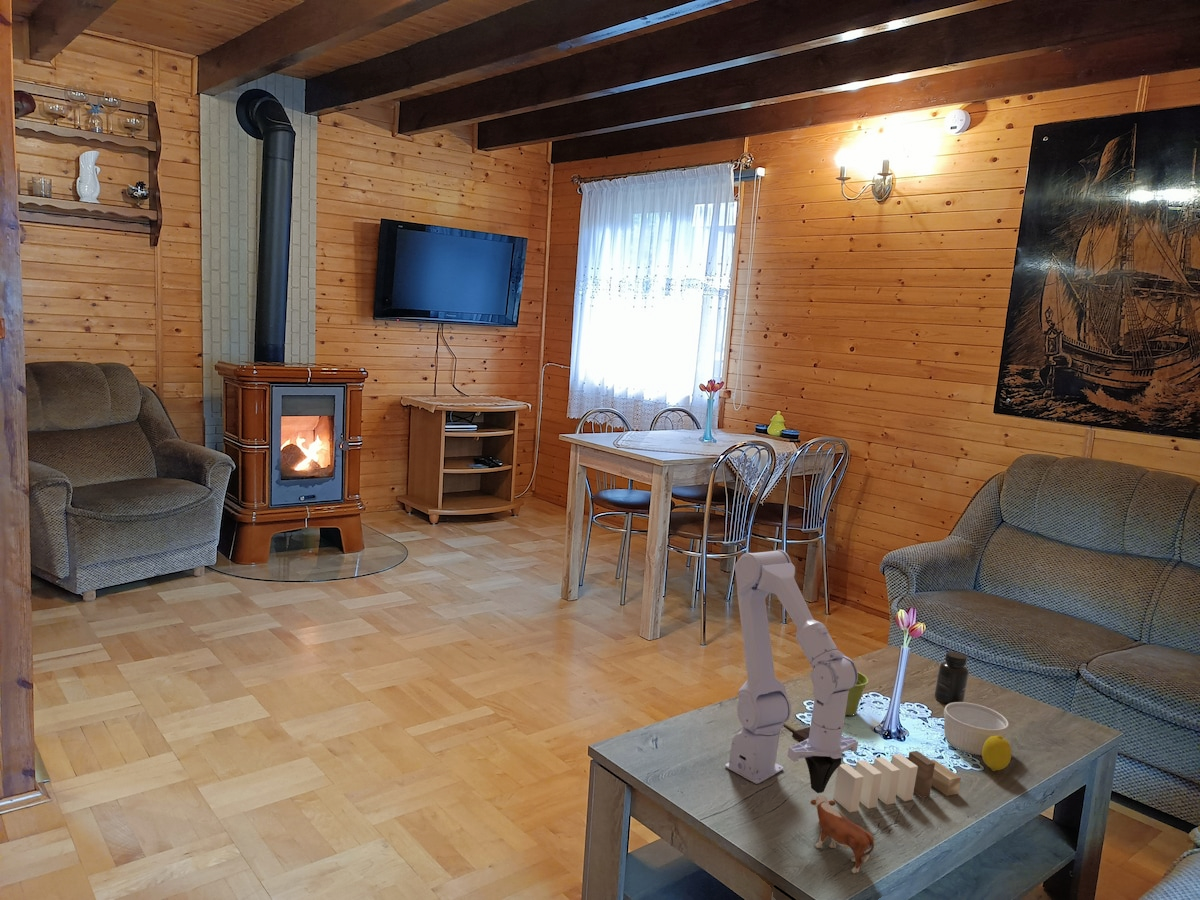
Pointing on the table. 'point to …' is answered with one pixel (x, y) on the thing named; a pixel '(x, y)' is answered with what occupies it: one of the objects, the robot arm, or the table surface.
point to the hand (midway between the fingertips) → (817, 789)
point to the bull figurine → (842, 832)
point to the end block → (945, 779)
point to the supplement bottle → (952, 678)
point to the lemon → (996, 752)
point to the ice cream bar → (798, 731)
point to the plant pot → (855, 694)
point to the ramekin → (972, 725)
